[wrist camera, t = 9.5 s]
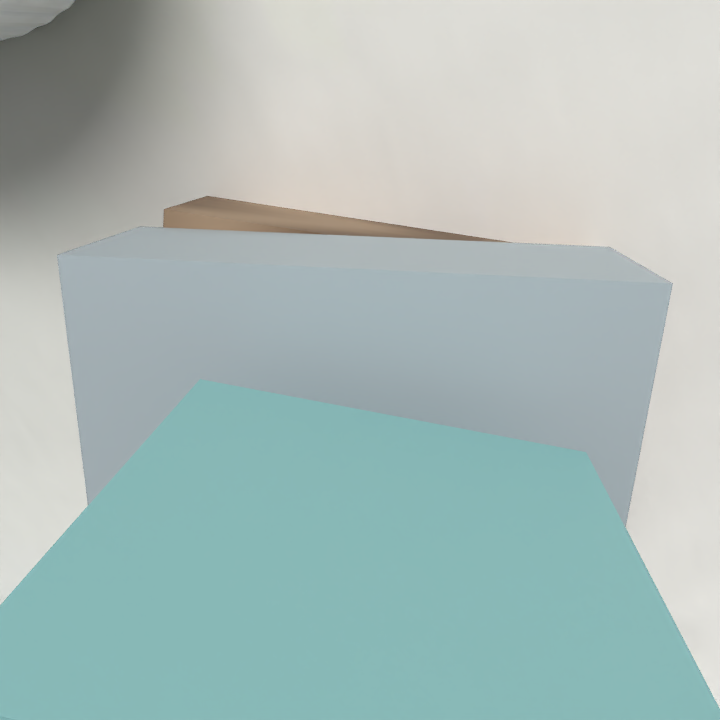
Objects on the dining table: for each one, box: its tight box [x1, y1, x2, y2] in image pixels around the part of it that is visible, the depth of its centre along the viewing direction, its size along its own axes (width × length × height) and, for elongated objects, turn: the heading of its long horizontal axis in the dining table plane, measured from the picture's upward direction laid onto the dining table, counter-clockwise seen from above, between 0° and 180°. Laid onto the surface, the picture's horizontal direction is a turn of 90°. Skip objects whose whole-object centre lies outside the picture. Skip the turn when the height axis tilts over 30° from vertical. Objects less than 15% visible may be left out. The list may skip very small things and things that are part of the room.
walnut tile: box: [163, 196, 512, 243], centre depth 17 cm, size 10×10×4 cm
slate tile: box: [57, 227, 673, 527], centre depth 14 cm, size 10×10×4 cm
